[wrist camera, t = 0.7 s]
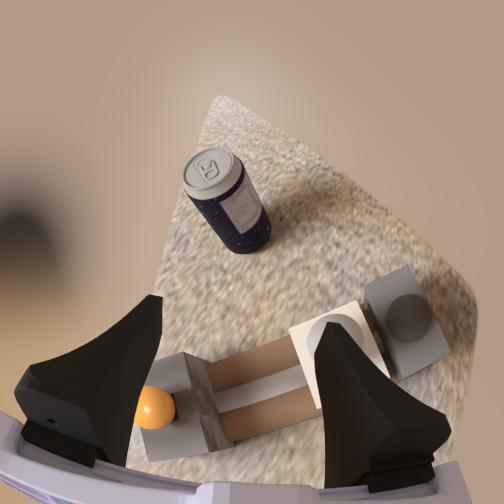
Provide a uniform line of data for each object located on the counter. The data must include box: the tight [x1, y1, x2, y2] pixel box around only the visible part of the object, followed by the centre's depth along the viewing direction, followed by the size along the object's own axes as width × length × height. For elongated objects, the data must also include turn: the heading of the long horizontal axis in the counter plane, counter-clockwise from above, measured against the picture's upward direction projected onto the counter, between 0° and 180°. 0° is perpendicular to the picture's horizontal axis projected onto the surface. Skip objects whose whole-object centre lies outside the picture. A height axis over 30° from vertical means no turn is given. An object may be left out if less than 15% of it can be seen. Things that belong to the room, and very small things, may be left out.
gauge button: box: [134, 386, 176, 429], centre depth 23 cm, size 4×4×3 cm
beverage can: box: [182, 147, 271, 254], centre depth 32 cm, size 6×6×12 cm
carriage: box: [288, 300, 390, 409], centre depth 22 cm, size 7×6×8 cm
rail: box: [140, 265, 452, 462], centre depth 25 cm, size 9×26×6 cm, turn 107°
